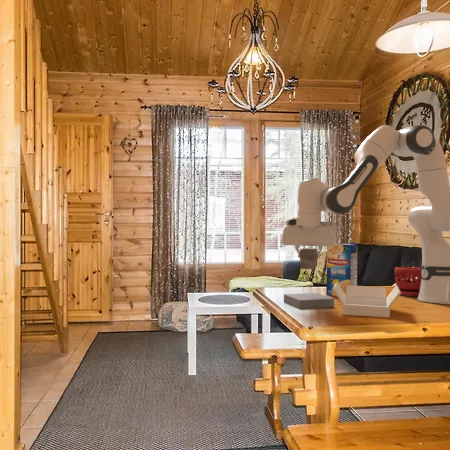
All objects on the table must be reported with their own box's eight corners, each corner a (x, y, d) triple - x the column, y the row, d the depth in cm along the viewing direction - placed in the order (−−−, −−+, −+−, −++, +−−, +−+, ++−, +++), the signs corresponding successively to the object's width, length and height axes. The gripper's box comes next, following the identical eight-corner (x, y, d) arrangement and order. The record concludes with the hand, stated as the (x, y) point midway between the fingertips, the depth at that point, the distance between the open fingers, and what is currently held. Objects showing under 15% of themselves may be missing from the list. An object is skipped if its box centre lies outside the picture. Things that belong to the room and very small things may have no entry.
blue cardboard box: (350, 297, 195) (351, 244, 195) (326, 294, 202) (326, 243, 202) (357, 295, 201) (357, 244, 200) (333, 292, 208) (333, 243, 207)
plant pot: (433, 296, 200) (434, 268, 200) (409, 298, 195) (409, 269, 195) (411, 292, 212) (411, 265, 212) (387, 293, 208) (388, 266, 207)
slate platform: (316, 300, 187) (316, 293, 187) (333, 306, 174) (334, 298, 174) (283, 301, 183) (283, 294, 183) (299, 308, 170) (299, 300, 170)
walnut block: (304, 265, 185) (304, 247, 185) (316, 266, 183) (317, 248, 183) (299, 268, 173) (300, 249, 173) (313, 269, 172) (313, 250, 172)
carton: (336, 303, 181) (336, 281, 181) (396, 307, 174) (397, 284, 174) (332, 313, 160) (332, 288, 160) (400, 318, 154) (401, 292, 154)
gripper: (337, 221, 178) (337, 258, 178) (284, 221, 184) (283, 256, 184) (336, 221, 172) (336, 259, 172) (281, 221, 178) (281, 257, 178)
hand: (308, 257), depth 178 cm, fingers closed on walnut block, 5 cm apart
